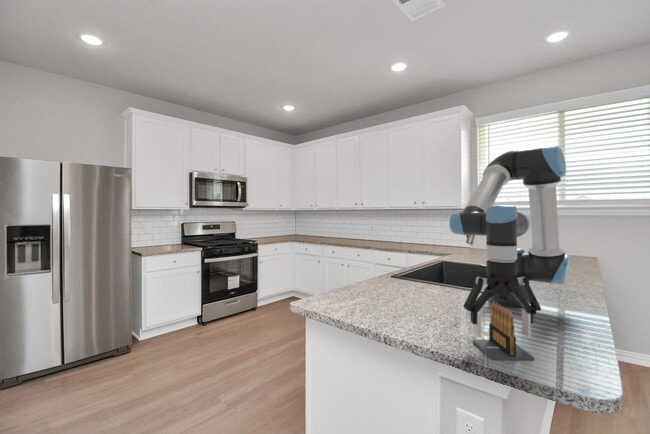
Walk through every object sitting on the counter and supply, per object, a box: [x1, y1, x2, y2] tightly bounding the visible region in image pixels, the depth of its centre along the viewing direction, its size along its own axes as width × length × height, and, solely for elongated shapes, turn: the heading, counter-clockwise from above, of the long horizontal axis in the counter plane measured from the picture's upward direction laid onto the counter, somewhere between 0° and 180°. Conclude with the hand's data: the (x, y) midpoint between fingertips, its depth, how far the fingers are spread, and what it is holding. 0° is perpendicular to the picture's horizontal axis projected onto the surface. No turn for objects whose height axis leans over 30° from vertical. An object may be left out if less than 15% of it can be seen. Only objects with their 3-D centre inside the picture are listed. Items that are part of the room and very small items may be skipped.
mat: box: [472, 339, 535, 361], centre depth 86 cm, size 11×11×1 cm
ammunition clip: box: [488, 301, 517, 356], centre depth 86 cm, size 11×2×12 cm, turn 178°
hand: (501, 335), depth 86 cm, fingers open, 13 cm apart
